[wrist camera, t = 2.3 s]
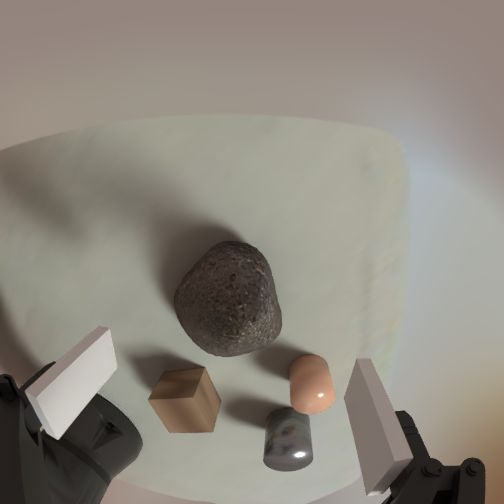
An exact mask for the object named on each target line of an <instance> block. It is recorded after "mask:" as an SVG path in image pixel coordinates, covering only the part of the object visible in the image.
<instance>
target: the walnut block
mask: <svg viewBox="0 0 504 504" xmlns="http://www.w3.org/2000/svg"><path fill="white" fill-rule="evenodd" d="M148 401H149V402H150V404H151V406H152V407H153V409H154V410H155V412H156V413H157V415H158V417H159V418H160V420H161V421H162V423H163V424H164V426H165V427H166V428H167V430H168V431H169V433H202V432H213V430H214V426H215V423H216V419H217V415H218V411H219V407H220V403H221V400H220V398H219V396H218V394H217V391H216V389H215V387H214V385H213V383H212V381H211V379H210V377H209V374H208V372H207V370H206V368H205V367H202V368H195V369H187V370H178V371H168V372H164V373H163V375H162V376H161V378H160V380H159V381H158V383H157V385H156V387H155V388H154V390H153V392H152V393H151V395H150V397H149V399H148Z"/></svg>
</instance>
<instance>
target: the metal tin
mask: <svg viewBox="0 0 504 504" xmlns="http://www.w3.org/2000/svg"><path fill="white" fill-rule="evenodd" d="M312 460H313V452H312V441H311V430H310V420H309V416H308V414H303V413H300V412H298V411H296V410H295V409H294V408H291V407H288V408H281V409H278V410H275V411H274V412H272V413H271V414H270V415H269V416H268V417H267V420H266V434H265V446H264V459H263V461H264V464H265V465H266V466H267V467H269V468H271V469H273V470H277V471H295V470H299V469H302V468H305V467H306V466H308V465H309V464H310V463H311V462H312Z"/></svg>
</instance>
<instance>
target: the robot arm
mask: <svg viewBox="0 0 504 504" xmlns="http://www.w3.org/2000/svg"><path fill="white" fill-rule="evenodd" d="M116 369H117V363H116V358H115V353H114V348H113V343H112V337H111V332H110V328H106V327H102V326H98V327H97V328H96V329H95V330H94V331H92V332H91V333H90V334H89V335H88V336H86V337H85V338H84V339H83V340H82V341H81V342H79V343H78V344H77V345H76V346H75V347H73V348H72V349H71V350H70V351H69V352H68V353H67V354H65V355H64V356H63V357H62V358H61V359H60V360H59V361H57V362H55V361H54V362H52V363H50V364H47V365H46V366H44V367H43V368H42V369H41V370H40V372H38V373H36V374H35V376H33V377H32V378H31V379H30V380H28V381H27V382H26V383H25V384H24V385H23V386H22V387H21V388H20V389H18V387H17V385H16V383H15V381H14V379H13V377H12V376H10V375H8V374H2V375H0V504H100V502H101V500H102V498H103V496H104V494H105V492H106V490H107V488H108V486H109V484H110V482H111V480H112V479H113V478H114V477H115V476H116V475H117V474H119V473H120V472H121V471H122V470H124V469H125V468H126V467H127V466H129V465H130V464H131V463H132V462H133V461H135V460H136V458H137V457H138V455H139V453H140V451H141V449H142V445H143V443H142V439H141V436H140V434H139V432H138V431H137V429H136V428H135V426H134V425H133V424H132V423H131V421H130V420H129V419H128V418H127V417H126V416H125V415H124V414H123V413H122V412H120V411H119V410H118V409H117V408H116V407H114V406H113V405H112V404H111V403H109V402H108V401H106V400H105V399H103V398H102V397H100V396H98V395H97V394H96V393H97V392H98V390H99V389H100V388H101V387H102V386H103V384H104V383H105V382H106V381H107V380H108V378H109V377H110V376H111V375H112V374H113V372H114V371H115V370H116ZM344 400H345V404H346V408H347V412H348V416H349V420H350V424H351V428H352V432H353V436H354V440H355V445H356V449H357V453H358V458H359V462H360V467H361V471H362V476H363V481H364V486H365V491H366V496H371V495H377V494H383V493H384V492H385V491H386V490H387V489H388V488H389V487H390V490H391V494H390V496H389V497H388V498H387V499H386V500H385V501H384V502H383V503H382V504H484V503H485V466H484V464H483V463H482V461H481V460H479V459H477V458H468V459H466V460H464V461H463V463H462V464H461V465H460V466H443V465H442V463H441V462H440V461H438V460H436V459H433V458H430V456H429V454H428V452H427V449H426V447H425V445H424V443H423V441H422V439H421V436H420V434H418V430H417V427H415V423H414V421H413V419H412V417H411V416H410V415H409V414H408V413H407V412H406V411H394V409H393V407H392V405H391V403H390V400H389V398H388V396H387V393H386V391H385V389H384V387H383V385H382V382H381V380H380V378H379V376H378V374H377V372H376V370H375V368H374V365H373V363H372V361H371V359H356V362H355V366H354V369H353V372H352V375H351V378H350V381H349V385H348V388H347V390H346V393H345V396H344ZM41 426H43V428H44V429H43V430H42V431H40V427H41Z"/></svg>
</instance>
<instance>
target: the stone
mask: <svg viewBox="0 0 504 504" xmlns="http://www.w3.org/2000/svg"><path fill="white" fill-rule="evenodd" d="M174 306H175V311H176V314H177V317H178V320H179V322H180V324H181V326H182V327H183V329H184V330H185V332H186V333H187V335H188V336H189V337H190V338H191V339H192V341H193V342H194V343H195V344H196V345H197V346H199V347H200V348H201V349H203V350H204V351H206V352H207V353H210V354H213V355H215V356H222V357H232V356H238V355H242V354H245V353H249V352H252V351H255V350H258V349H260V348H262V347H265V346H267V345H269V344H270V343H272V342H273V341H274V340H275V338H276V337H277V336H278V335H279V333H280V331H281V328H282V315H281V309H280V306H279V303H278V299H277V295H276V291H275V284H274V280H273V277H272V272H271V269H270V266H269V264H268V262H267V260H266V258H265V257H264V256H263V254H262V253H261V252H259V251H258V249H257V248H255V247H253V246H251V245H249V244H247V243H240V242H236V241H224V242H222V243H219V244H217V245H216V246H214V247H212V248H211V249H210V250H209V251H208V252H207V253H206V254H205V255H204V256H203V257H202V258H201V259H200V260H199V261H198V262H197V263H196V264H195V265H194V266H193V268H192V269H191V270H190V271H189V272H188V273H187V275H186V276H185V277H184V279H183V280H182V282H181V283H180V285H179V287H178V289H177V290H176V293H175V296H174Z"/></svg>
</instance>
